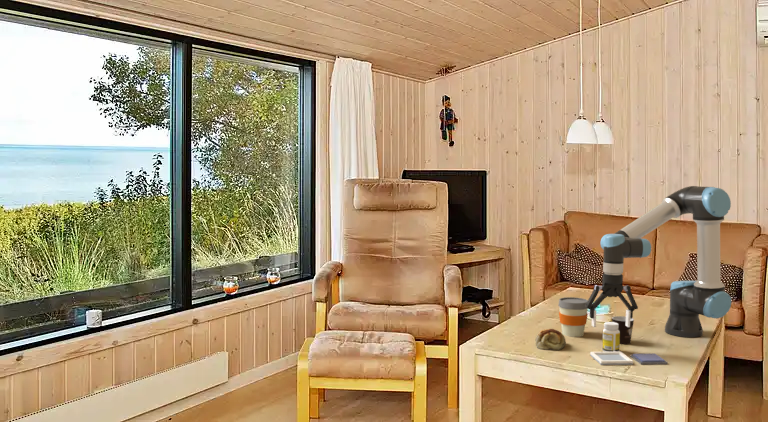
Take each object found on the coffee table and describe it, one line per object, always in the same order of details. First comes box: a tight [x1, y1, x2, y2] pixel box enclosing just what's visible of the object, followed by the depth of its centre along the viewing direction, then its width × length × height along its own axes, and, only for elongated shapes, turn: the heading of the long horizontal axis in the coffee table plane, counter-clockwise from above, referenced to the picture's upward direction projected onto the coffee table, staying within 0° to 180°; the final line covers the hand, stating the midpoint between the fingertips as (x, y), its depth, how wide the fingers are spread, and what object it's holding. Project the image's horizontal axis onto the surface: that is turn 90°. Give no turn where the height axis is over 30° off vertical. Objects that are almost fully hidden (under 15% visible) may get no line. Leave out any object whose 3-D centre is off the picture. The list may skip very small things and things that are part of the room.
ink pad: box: [629, 353, 669, 366], centre depth 252 cm, size 10×10×1 cm
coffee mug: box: [611, 315, 635, 345], centre depth 277 cm, size 12×9×10 cm
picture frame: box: [589, 351, 634, 366], centre depth 253 cm, size 12×12×1 cm
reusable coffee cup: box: [558, 296, 589, 338], centre depth 289 cm, size 13×13×15 cm
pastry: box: [535, 328, 567, 351], centre depth 271 cm, size 14×12×8 cm
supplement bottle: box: [602, 321, 621, 352], centre depth 263 cm, size 6×6×11 cm
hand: (610, 326), depth 263 cm, fingers open, 13 cm apart
